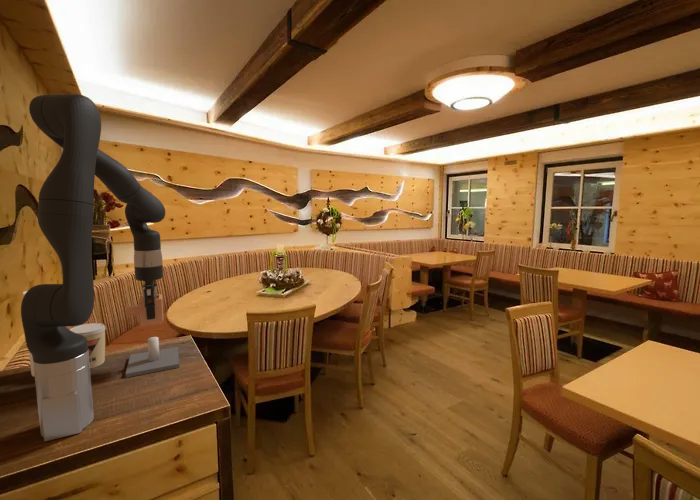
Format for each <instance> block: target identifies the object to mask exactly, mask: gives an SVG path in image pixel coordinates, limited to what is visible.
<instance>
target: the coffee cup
mask: <svg viewBox="0 0 700 500" xmlns="http://www.w3.org/2000/svg"><path fill="white" fill-rule="evenodd" d="M69 330H71V331H72V332H75V333H77V334H80V335H82V336H84V337H86V339H87V341H88V351H89V364H90V369H94V368H96V367H99V366H101V365H102V364H104V362H105V361H106V360H105V358H106V326H105V324H104V323H99V322H94V323H93V322H92V323H91V322H90V323H84V324H82V325H79V326H72V327H71V328H69Z"/></svg>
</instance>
